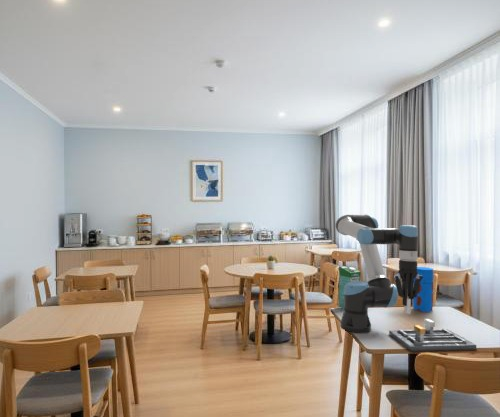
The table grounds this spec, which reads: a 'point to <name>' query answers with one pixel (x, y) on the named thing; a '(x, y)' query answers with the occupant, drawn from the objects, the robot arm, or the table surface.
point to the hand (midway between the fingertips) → (407, 312)
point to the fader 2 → (429, 326)
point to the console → (432, 340)
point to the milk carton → (346, 280)
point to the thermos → (424, 290)
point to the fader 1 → (419, 333)
